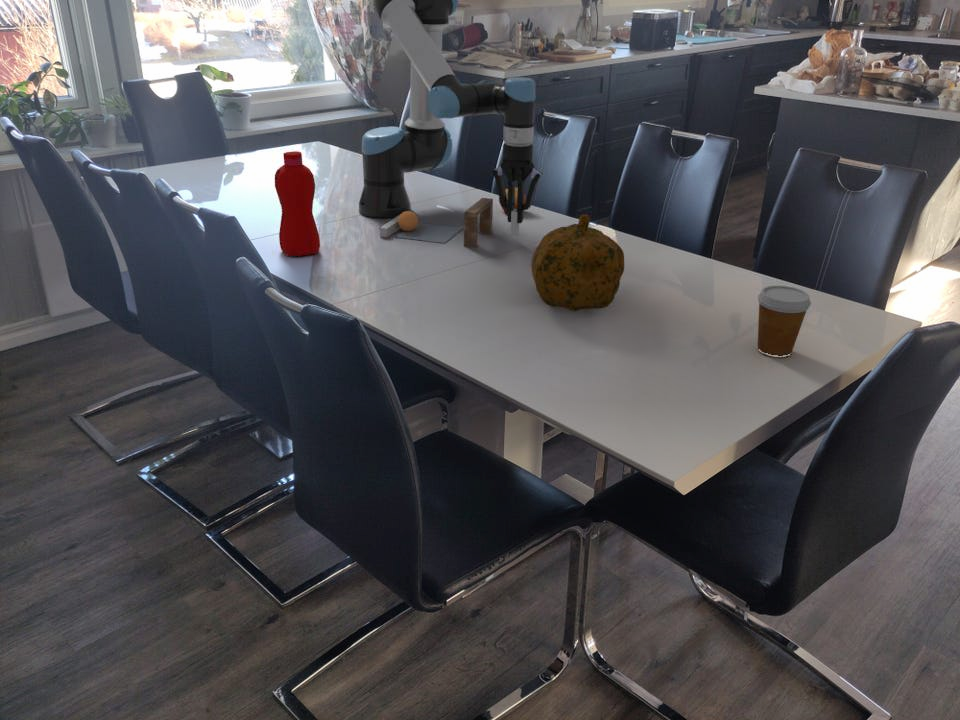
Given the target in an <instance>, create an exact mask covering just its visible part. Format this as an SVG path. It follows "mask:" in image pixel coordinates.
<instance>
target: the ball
mask: <svg viewBox="0 0 960 720" xmlns="http://www.w3.org/2000/svg"><path fill="white" fill-rule="evenodd" d="M418 223H419V217H418V215H417V214H416V213H415V212H413V211H412V210H411V211H405V212H403V213H402V214H401V215H400V216H399V218H398V224H399V226H400V229H401V230H402V231H407V232H410V231H413V230H415V229H416V227H417V226H418Z"/></svg>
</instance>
